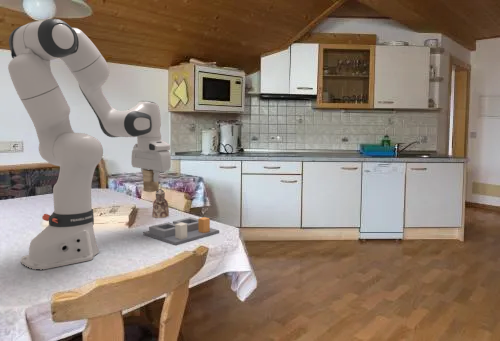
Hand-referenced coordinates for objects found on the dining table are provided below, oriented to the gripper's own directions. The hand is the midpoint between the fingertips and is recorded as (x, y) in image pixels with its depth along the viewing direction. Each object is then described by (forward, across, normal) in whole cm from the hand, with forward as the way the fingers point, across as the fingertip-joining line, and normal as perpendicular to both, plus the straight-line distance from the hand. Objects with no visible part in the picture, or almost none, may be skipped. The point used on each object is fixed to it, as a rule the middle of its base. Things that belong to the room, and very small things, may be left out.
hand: (150, 180), depth 162 cm
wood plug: (+4, 0, 0) cm, 4 cm away
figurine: (+20, -17, +17) cm, 31 cm away
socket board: (+20, +12, +4) cm, 23 cm away
